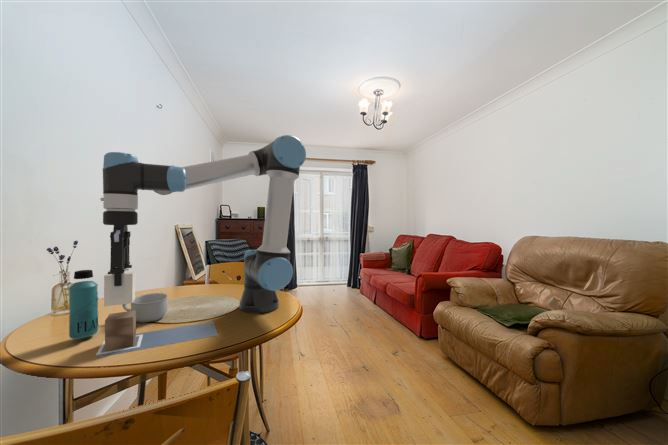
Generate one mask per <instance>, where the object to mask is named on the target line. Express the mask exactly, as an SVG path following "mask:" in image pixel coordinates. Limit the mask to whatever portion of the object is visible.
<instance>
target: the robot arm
mask: <svg viewBox="0 0 668 445" xmlns="http://www.w3.org/2000/svg"><path fill="white" fill-rule="evenodd" d="M306 158H307V150H306V148H305V146H304V144H303V143H302V141H301V140H300V138H298V137H296V136H293V135H289V134H285V135H281V136H278V137H277V138H275V139H274V140H273V141H272V142H270V143H269V144H267V145H266V146H264V147H262V148H259V149H257V150H251V151H249V153H248V154H245V155H240V156H239V155H238V156H235V157H229V158H225V159H223V158H222V159H218V160H213V161H207V162H202V163H198V164H197V163H196V164H192V165H187V166H182V167H181V166H175V165H164V164H163V165H162V164H153V163H144V162H143V163H142V162H139V159H138V157H137V156H136V155H134V154H131V153H126V152H120V151H110V152H107V153H105V154H104V155H103V165H102V166H103V167H102V193H103V196H102V197H100V198H99V199H100V202H102V204H103V209H104V211H103V212H102V224H103V225H104V226H113V228H112V230H113V231H110V235H109V238H110V264H109V265H110V269H109V271H108V272H107V273H108V274H112V299H115V298H125V273H124V271H128V270H129V269H132V265H133V264H131V261H130V245H131V244H130V242H131V241H130V239H131V236H132V235H131V231H130V230H128V229H129V228H128V226H136V225H138V223H139V221H138V220H139V218H138V217H139V216H138V214H139V213H138V212H137V211H136V210H138V208H139V196H138V190H140V191H152V192H154V193H155V194H158V195H161V196H166V195H170V194H172V193H182V192H185V191H186V190H190V189H193V188H198V187H202V186H207V185H211V184H216V183H219V182H220V183H221V182H225V181H229V180H234V179H238V178H239V179H240V178H244V177H248V176H252V175H254V176H255V177H259V176H265V175H268V177H269V182H268V190H267V191H268V193H267V201H266V208H265V209H266V210H265V218H264V224H263V233H262V242H261V245H260V246H259V247H258V248H257V249H249V250H246V251H245V252H244V255H243V256H244V257H243V261H244V262H243V264H244V266H243V272H244V273H243V277H244V278H243V283H244V284H243V285H244V286H243V291H242V295H241V298H240V301H239V305H238V306H239V310H240V311H242V312H244V313H248V314H249V313H250V314H265V313H268V312H272V311H276V310H277V309H278V308H279V307H280V299H279V296H278V294H277V293H278V292H277V291H279V290H282V289H284V288H285V287H287V285H289V284H290V282H291V280H292V278H293V275H294V267H293V265H292V263H291V262H290V260H291V259H290V256H291V251H290V250H289V248H288V247H287V244H288V236H289V229H290V220H291V210H292V201H293V195H294V194H293V192H294V184H295V181H296V180H297V179H298V178H299V177H300V170H301V168H300V167H301V166H303V164H304V163H305V161H306Z"/></svg>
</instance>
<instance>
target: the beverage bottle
mask: <svg viewBox="0 0 668 445" xmlns="http://www.w3.org/2000/svg"><path fill="white" fill-rule="evenodd" d="M93 273H94V272H93V270H92V269H81V270H75V271H74V274H73V279H74V280H82V281H77V282H74V283H72V284H71V285H70V286H69V287H68V292H69V294H68V295H69V297H68V298H69V300H68V301H69V305H68V306H69V310H68V311H69V316H68V319H69V320H68V321H69V322H68V336H69V338H70V339H73V340H76V339H84V338H88V337H90V336H94V335H96V334H97V333H98V330H99V309H98V308H99V296H98V295H99V292H98V286H99V284H98V283H97V282H95V281H94V280H85V279H91V278H93V277H94V274H93Z"/></svg>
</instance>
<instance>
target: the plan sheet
mask: <svg viewBox="0 0 668 445" xmlns="http://www.w3.org/2000/svg"><path fill="white" fill-rule="evenodd" d="M216 336H219V334H218V332H217V329H216V327H215V323H214V321H208V322H201V323H195V324H190V325H183V326H182V325H181V326H177V327H171V328H170V327H169V328H165V329H164V328H163V329H158V330H153V331H146V332H139V333H136V339H135V342H134V345H133V346H131V347H126V348H120V349H115V350H109V351H105V340H103V341H102V343H101V345H100V347H99V348H98V349H97V352H96V354H95V356H97V357H96V358H98V359H99V358H102V357H108V356H109V357H110V356H113V355H114V356H115V355H118V354H119V355H121V354H124V353H130V352H131V353H132V352H136V351H141V350H145V349H146V350H147V349H152V348H157V347H162V346H168V345H174V344H179V343H185V342H188V341H194V340H200V339H205V338H210V337H211V338H212V337H216Z"/></svg>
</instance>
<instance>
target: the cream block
mask: <svg viewBox="0 0 668 445" xmlns="http://www.w3.org/2000/svg"><path fill="white" fill-rule="evenodd" d="M124 273H125V298H115V299H112V274H108V272H107V273H106V274H104V275H103V281H104V282H103V285H104V286H103V307H111V306H121V305H122V304H127V305H128V304H130V305H131V303H133V301H134V299H135V297H136V269H133V270H132V269H130V270H128V271H124Z"/></svg>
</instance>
